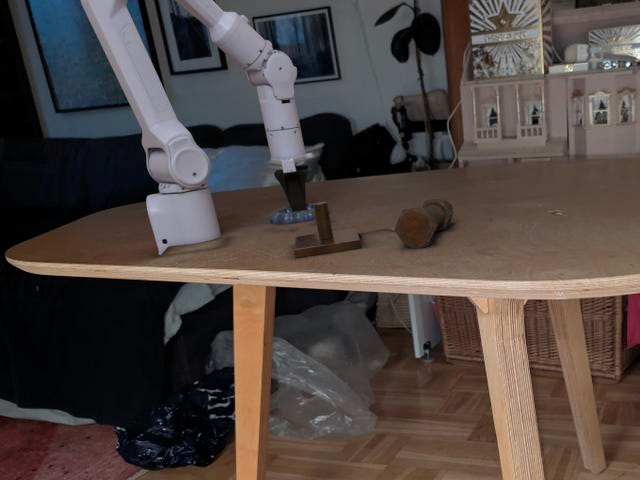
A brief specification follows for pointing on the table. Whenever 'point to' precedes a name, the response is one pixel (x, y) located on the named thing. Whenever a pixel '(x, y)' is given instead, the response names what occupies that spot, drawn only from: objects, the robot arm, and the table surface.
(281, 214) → the ring
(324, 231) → the stand
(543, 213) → the table surface
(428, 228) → the bolt
